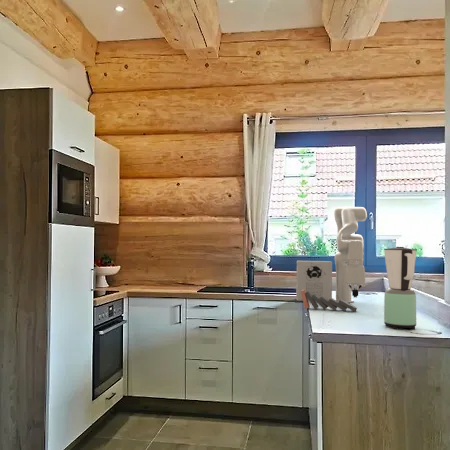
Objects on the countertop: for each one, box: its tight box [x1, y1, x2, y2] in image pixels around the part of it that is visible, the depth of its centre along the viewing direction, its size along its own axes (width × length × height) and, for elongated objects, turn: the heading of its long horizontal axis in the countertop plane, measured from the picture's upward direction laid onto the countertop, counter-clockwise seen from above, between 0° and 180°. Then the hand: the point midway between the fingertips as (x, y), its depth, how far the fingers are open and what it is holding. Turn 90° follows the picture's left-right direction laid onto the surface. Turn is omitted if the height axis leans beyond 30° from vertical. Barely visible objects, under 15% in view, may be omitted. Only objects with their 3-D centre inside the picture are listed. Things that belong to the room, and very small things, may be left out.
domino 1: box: [301, 290, 311, 309], centre depth 253 cm, size 5×2×10 cm, turn 160°
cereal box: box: [295, 260, 333, 302], centre depth 290 cm, size 22×8×25 cm, turn 84°
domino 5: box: [328, 297, 348, 312], centre depth 247 cm, size 5×2×10 cm
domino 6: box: [338, 299, 358, 313], centre depth 245 cm, size 5×2×10 cm
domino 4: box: [319, 296, 338, 312], centre depth 249 cm, size 5×2×10 cm
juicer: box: [383, 246, 418, 331], centre depth 197 cm, size 19×13×35 cm
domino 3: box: [312, 294, 329, 311], centre depth 250 cm, size 5×2×10 cm
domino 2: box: [305, 291, 320, 310], centre depth 252 cm, size 5×2×10 cm
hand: (355, 297), depth 244 cm, fingers closed
